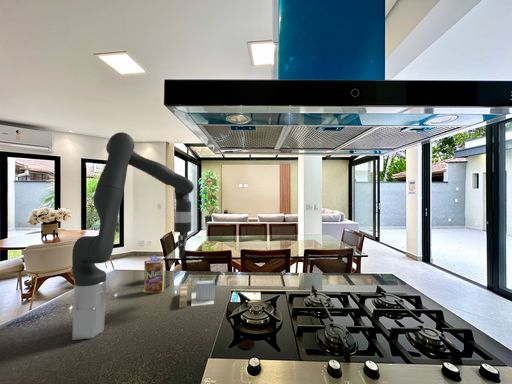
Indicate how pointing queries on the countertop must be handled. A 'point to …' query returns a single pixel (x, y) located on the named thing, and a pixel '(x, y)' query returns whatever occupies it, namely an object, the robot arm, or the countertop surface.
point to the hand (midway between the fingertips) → (182, 256)
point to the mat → (200, 303)
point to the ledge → (183, 296)
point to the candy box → (154, 276)
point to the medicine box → (205, 290)
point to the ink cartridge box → (152, 260)
